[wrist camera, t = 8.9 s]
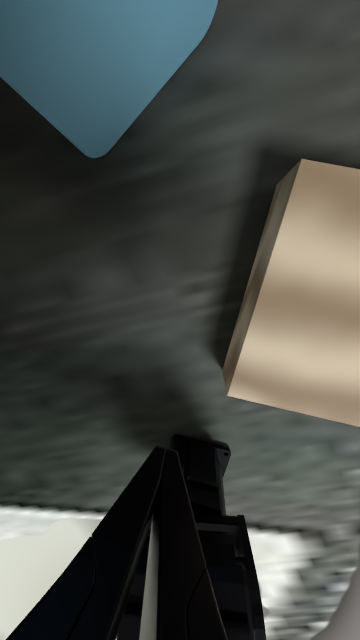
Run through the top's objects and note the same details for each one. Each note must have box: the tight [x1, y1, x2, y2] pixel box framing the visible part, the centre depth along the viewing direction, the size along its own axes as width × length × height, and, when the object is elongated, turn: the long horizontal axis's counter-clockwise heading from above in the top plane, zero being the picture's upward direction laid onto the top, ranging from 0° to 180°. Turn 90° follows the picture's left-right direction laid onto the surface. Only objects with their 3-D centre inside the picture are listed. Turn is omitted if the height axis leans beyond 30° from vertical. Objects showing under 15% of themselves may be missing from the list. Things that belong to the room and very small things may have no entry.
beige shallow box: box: [222, 159, 360, 427], centre depth 15 cm, size 16×11×4 cm
